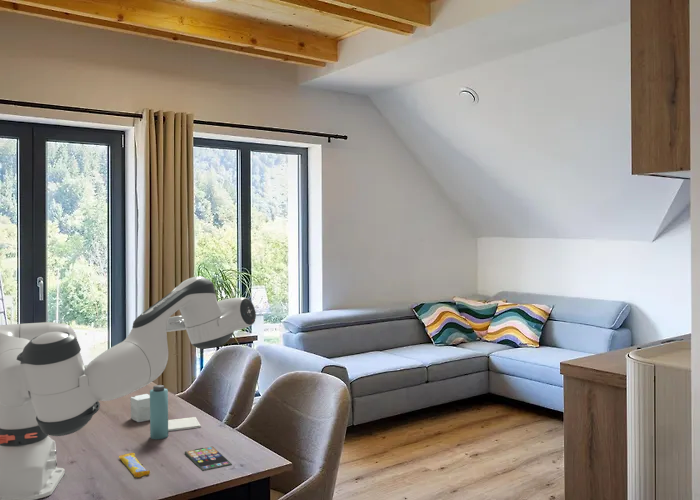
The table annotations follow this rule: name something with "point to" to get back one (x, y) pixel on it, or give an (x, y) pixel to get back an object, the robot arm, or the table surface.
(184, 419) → the coaster
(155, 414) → the bottle
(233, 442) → the table surface
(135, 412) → the skincare box
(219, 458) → the smartphone
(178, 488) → the table surface
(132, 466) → the candy bar
